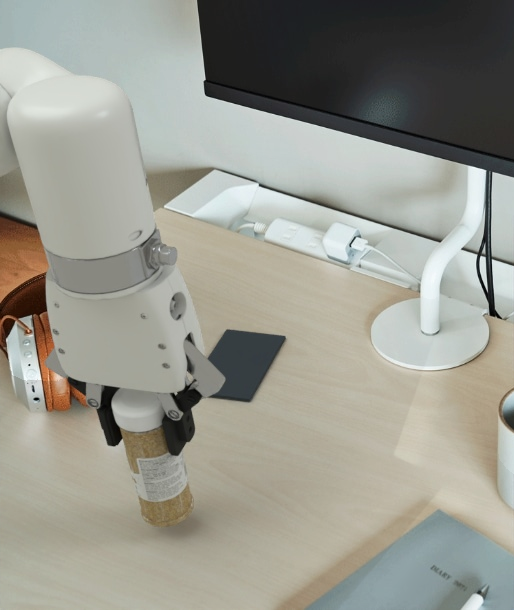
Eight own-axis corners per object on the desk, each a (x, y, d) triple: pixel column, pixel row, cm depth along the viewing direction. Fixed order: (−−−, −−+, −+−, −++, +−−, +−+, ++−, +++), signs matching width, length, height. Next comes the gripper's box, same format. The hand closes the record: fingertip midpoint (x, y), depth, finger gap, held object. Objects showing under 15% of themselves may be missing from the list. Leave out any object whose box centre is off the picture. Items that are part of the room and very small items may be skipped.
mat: (186, 394, 96) (185, 391, 96) (227, 331, 105) (226, 328, 105) (250, 402, 96) (249, 399, 95) (285, 338, 104) (285, 335, 104)
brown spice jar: (142, 494, 82) (112, 380, 74) (195, 486, 83) (171, 372, 75) (140, 534, 79) (108, 418, 71) (195, 525, 80) (169, 410, 72)
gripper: (239, 239, 67) (265, 422, 78) (24, 213, 69) (79, 395, 80) (196, 298, 61) (231, 487, 72) (-38, 268, 63) (30, 457, 74)
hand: (150, 437), depth 76 cm, fingers closed on brown spice jar, 4 cm apart
